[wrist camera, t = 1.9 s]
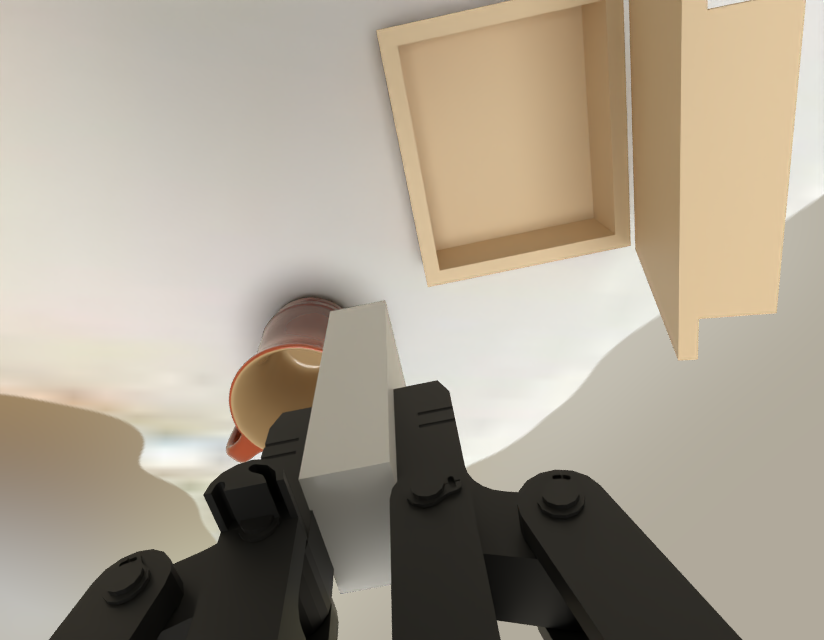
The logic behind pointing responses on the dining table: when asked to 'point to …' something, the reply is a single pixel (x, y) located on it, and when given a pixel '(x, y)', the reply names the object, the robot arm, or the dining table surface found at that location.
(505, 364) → the dining table surface
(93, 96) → the dining table surface
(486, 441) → the dining table surface
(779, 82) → the lid
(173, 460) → the dining table surface
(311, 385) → the mug
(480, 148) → the mailer box
